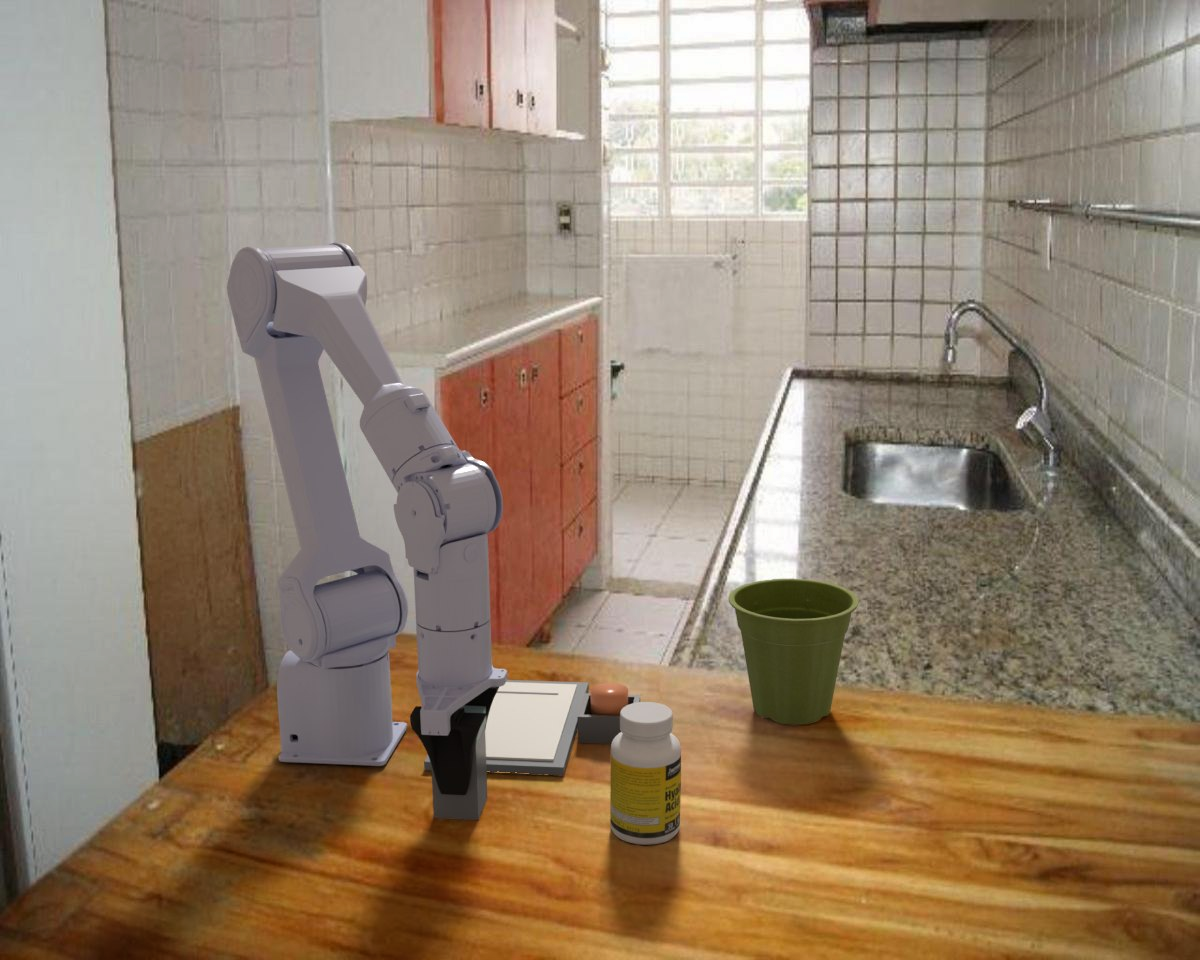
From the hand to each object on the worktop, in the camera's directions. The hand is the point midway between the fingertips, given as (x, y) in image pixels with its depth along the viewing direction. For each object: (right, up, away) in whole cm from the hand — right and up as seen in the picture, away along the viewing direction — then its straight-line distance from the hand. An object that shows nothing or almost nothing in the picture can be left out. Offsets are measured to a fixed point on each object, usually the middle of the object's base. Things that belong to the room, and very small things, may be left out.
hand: (459, 779), depth 98 cm
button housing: (+12, +1, +14) cm, 18 cm away
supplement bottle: (+15, -3, -3) cm, 15 cm away
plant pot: (+29, +2, +18) cm, 34 cm away
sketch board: (+3, +1, +15) cm, 15 cm away
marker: (0, -2, +1) cm, 2 cm away
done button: (+12, +3, +13) cm, 18 cm away
